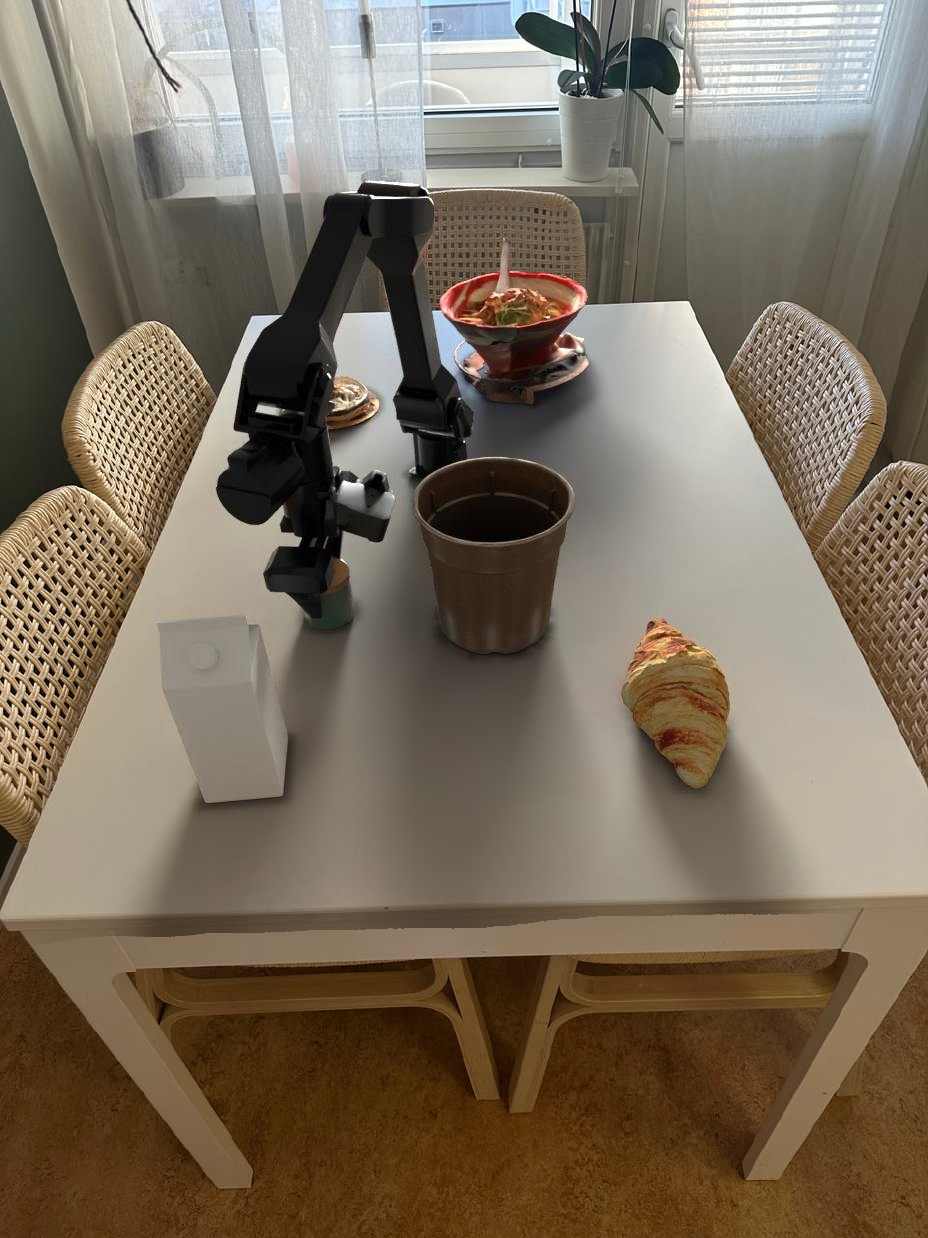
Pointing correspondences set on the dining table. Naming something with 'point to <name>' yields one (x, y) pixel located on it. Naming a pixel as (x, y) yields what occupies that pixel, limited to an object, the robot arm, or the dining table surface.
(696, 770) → the croissant
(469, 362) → the stew
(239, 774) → the milk carton
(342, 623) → the jar
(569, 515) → the plant pot
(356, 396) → the stacked pancakes
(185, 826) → the dining table surface
